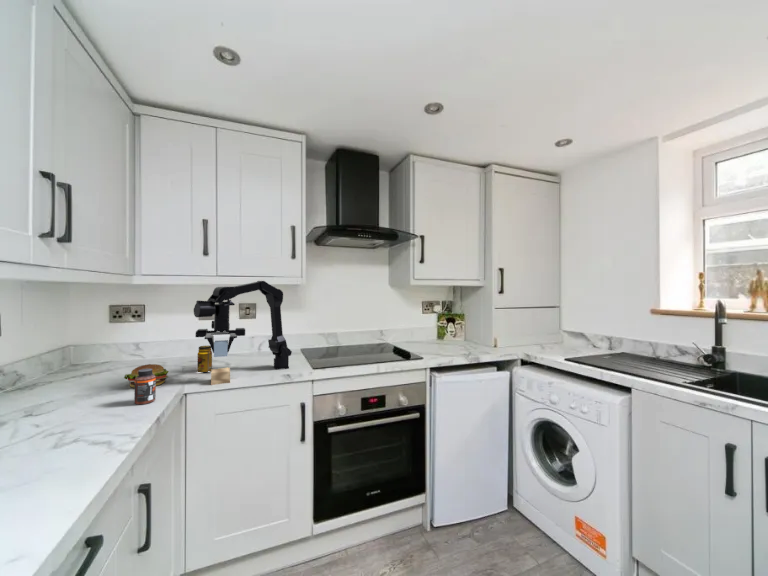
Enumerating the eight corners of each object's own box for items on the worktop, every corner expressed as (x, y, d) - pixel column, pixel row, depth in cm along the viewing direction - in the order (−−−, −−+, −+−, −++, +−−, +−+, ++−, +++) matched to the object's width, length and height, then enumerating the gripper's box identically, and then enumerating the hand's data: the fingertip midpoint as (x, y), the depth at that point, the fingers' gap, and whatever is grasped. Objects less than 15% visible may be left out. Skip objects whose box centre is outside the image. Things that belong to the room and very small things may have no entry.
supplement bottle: (157, 402, 112) (157, 370, 112) (135, 406, 108) (135, 373, 107) (153, 397, 116) (154, 366, 116) (133, 401, 112) (133, 369, 112)
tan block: (229, 378, 141) (229, 367, 141) (230, 383, 135) (230, 371, 135) (211, 380, 138) (211, 369, 138) (211, 385, 132) (211, 373, 132)
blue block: (227, 353, 140) (228, 340, 140) (227, 356, 135) (227, 342, 135) (214, 354, 138) (215, 340, 138) (213, 357, 133) (214, 342, 133)
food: (155, 377, 141) (156, 359, 141) (174, 382, 135) (174, 363, 135) (118, 386, 129) (118, 366, 129) (136, 391, 122) (137, 371, 122)
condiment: (193, 373, 148) (193, 347, 148) (203, 368, 157) (203, 344, 157) (208, 373, 148) (209, 347, 148) (218, 368, 157) (218, 344, 157)
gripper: (245, 314, 148) (244, 348, 148) (199, 314, 140) (198, 350, 140) (245, 316, 137) (244, 352, 137) (195, 317, 130) (194, 355, 130)
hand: (221, 352), depth 137 cm, fingers closed on blue block, 5 cm apart
